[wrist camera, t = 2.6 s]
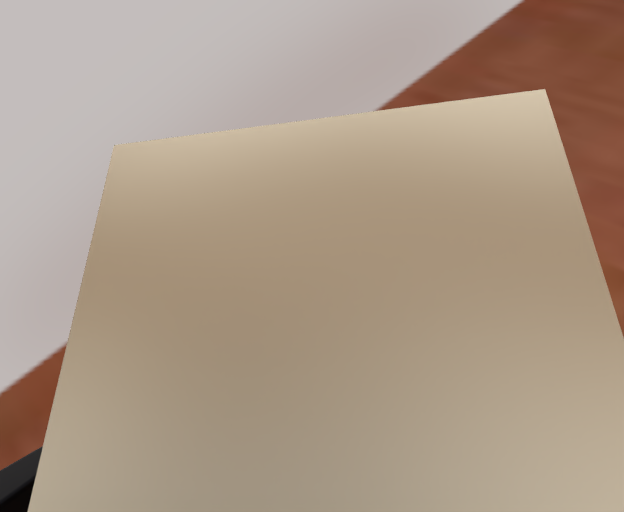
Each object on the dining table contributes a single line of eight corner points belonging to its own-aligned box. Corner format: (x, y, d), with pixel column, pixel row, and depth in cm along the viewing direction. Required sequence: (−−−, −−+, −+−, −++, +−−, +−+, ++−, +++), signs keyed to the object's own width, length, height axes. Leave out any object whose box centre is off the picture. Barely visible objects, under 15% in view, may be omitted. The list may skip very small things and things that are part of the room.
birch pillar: (471, 536, 14) (743, 714, 3) (304, 534, 14) (-10, 670, 4) (447, 366, 16) (544, 89, 5) (304, 373, 17) (113, 145, 6)
